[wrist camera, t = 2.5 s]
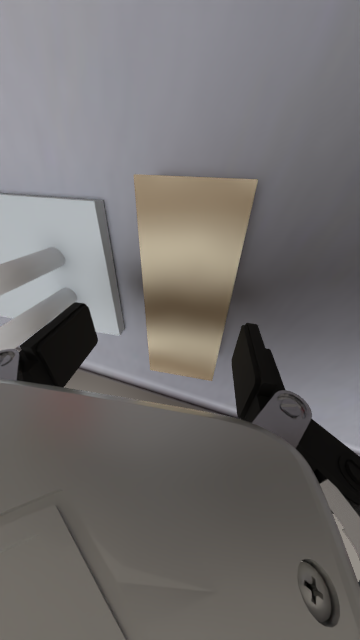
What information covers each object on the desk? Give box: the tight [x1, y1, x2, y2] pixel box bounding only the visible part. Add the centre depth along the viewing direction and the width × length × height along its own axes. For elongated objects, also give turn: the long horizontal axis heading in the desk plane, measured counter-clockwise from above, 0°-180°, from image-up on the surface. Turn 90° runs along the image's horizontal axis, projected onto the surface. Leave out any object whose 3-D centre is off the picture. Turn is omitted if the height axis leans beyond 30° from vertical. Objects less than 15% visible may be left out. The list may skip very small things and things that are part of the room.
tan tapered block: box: [134, 174, 258, 381], centre depth 15 cm, size 15×6×4 cm, turn 178°
